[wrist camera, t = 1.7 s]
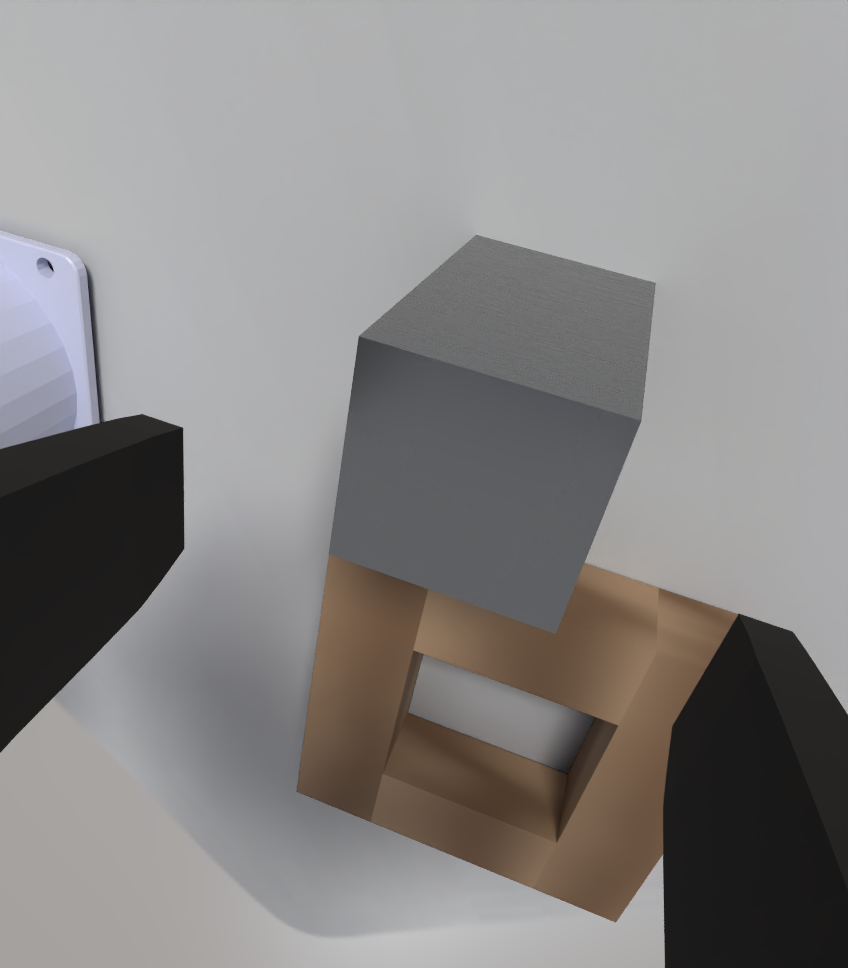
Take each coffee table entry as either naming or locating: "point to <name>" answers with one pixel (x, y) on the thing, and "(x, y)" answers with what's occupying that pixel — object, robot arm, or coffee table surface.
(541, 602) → the peg
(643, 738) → the socket block
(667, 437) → the coffee table surface
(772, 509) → the coffee table surface
